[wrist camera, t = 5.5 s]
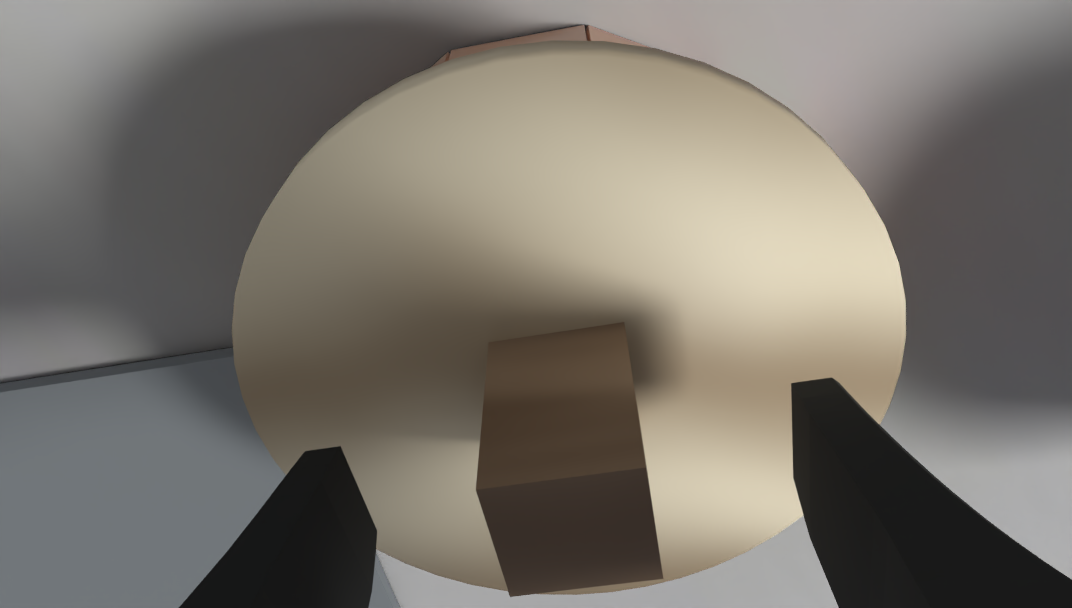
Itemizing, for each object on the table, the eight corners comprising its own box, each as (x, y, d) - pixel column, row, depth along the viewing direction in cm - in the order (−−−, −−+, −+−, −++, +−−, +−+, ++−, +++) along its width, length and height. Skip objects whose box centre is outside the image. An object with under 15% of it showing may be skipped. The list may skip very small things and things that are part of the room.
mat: (413, 638, 26) (412, 649, 26) (67, 677, 28) (62, 688, 27) (281, 339, 20) (276, 349, 19) (-164, 409, 21) (-176, 419, 21)
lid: (876, 530, 18) (958, 718, 15) (358, 592, 20) (318, 779, 16) (910, -31, 12) (1072, 60, 8) (130, 116, 13) (-26, 251, 9)
